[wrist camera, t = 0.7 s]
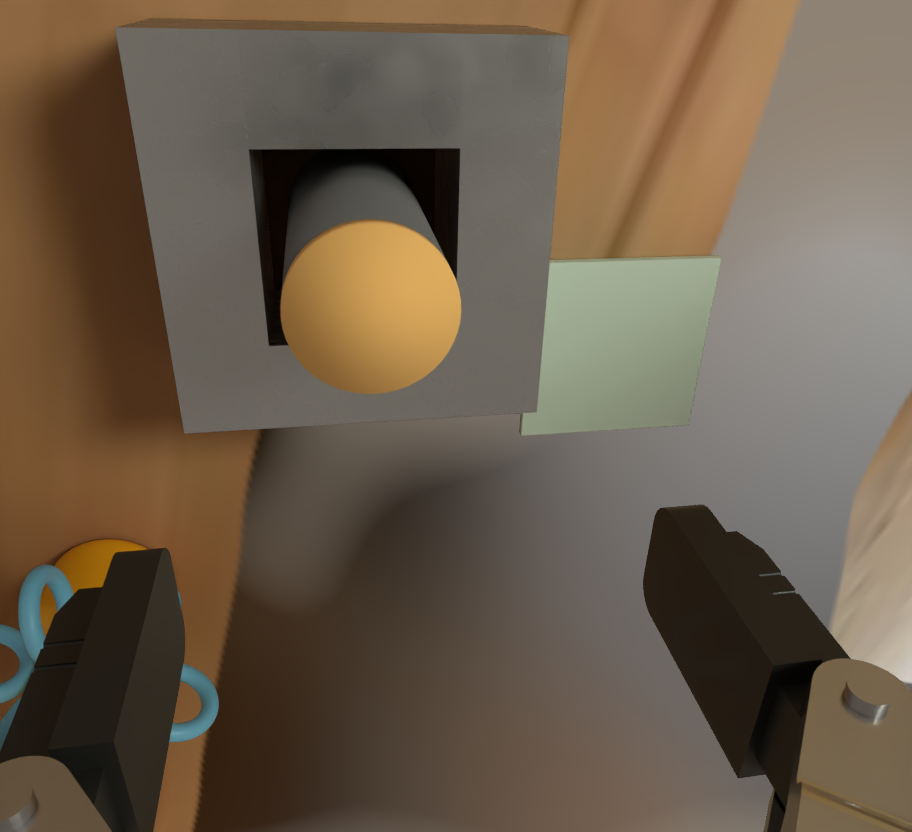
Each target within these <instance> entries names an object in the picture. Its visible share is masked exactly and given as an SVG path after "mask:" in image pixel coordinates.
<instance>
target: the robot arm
mask: <svg viewBox="0 0 912 832" xmlns="http://www.w3.org/2000/svg"><path fill="white" fill-rule="evenodd" d="M643 589H644V597H645V602H646V605H647V608H648V611H649V613H650V616H651V617H652V619H653V621H654V623H655V625H656V627H657V629H658V630H659V632H660V634H661V636H662V638H663V640H664V642H665V643H666V645H667V647H668V649H669V651H670V653H671V654H672V656H673V658H674V660H675V662H676V664H677V665H678V668H679V669H680V671H681V673H682V675H683V677H684V679H685V680H686V682H687V684H688V686H689V688H690V690H691V692H692V694H693V695H694V697H695V699H696V701H697V703H698V704H699V706H700V708H701V710H702V712H703V714H704V715H705V718H706V720H707V721H708V723H709V725H710V727H711V729H712V730H713V733H714V734H715V736H716V738H717V740H718V742H719V744H720V746H721V747H722V749H723V751H724V753H725V755H726V757H727V758H728V760H729V762H730V764H731V766H732V768H733V770H734V772H735V773H736V775H737V777H738V778H743V777H750V776H757V775H764V774H766V775H767V777H768V779H769V781H770V783H771V784H772V786H773V791H772V794H771V797H770V800H769V804H768V810H767V816H766V820H765V826H764V831H763V832H912V691H911V690H910V689H909V688H908V687H907V686H906V685H905V684H904V683H903V682H902V681H901V680H899V679H898V678H897V677H896V676H894V675H892V674H891V673H889V672H888V671H886V670H884V669H882V668H880V667H878V666H875V665H873V664H870V663H867V662H864V661H860V660H854V659H850V657H849V656H848V655H847V654H846V652H845V651H844V650H843V649H842V647H841V646H840V645H839V644H838V642H837V641H836V640H835V639H834V637H833V636H832V635H831V634H830V632H829V631H828V630H827V629H826V627H825V626H824V625H823V624H822V622H821V621H820V620H819V619H818V617H817V616H816V615H815V614H814V612H813V611H812V610H811V609H810V607H809V606H808V605H807V603H806V602H805V601H804V600H803V599H802V597H801V596H800V595H799V594H796V593H795V588H794V587H793V586H792V585H791V583H790V582H789V581H788V580H787V578H786V577H785V576H781V571H780V570H779V568H778V567H777V566H776V565H775V563H774V562H773V561H772V560H771V558H770V557H769V556H768V555H767V553H766V552H765V551H764V550H763V549H762V548H761V547H759V546H758V545H756V544H754V543H753V542H752V541H750V540H749V539H747V538H746V537H744V536H743V535H742V534H740V533H739V532H737V531H736V532H735V531H734V532H726V531H725V529H724V528H723V527H722V525H721V524H720V523H719V521H718V520H717V519H716V517H715V516H714V515H713V514H712V512H711V511H710V510H709V509H708V507H706V506H704V505H691V506H678V507H668V508H667V507H666V508H660V509H659V510H658V511H657V513H656V515H655V519H654V523H653V529H652V534H651V539H650V545H649V550H648V556H647V561H646V566H645V572H644V579H643ZM43 645H44V646H43V649H41V650H40V652H39V655H38V657H37V660H36V662H35V665H34V672H32V673H31V675H30V678H29V680H28V683H27V685H26V688H25V690H24V693H23V695H22V698H21V700H20V703H19V705H18V708H17V710H16V713H15V715H14V718H13V720H12V723H11V725H10V728H9V731H8V733H7V736H6V738H5V741H4V743H3V746H2V748H1V751H0V832H153V829H154V823H155V818H156V812H157V807H158V801H159V796H160V790H161V785H162V779H163V774H164V768H165V763H166V757H167V751H168V746H169V740H170V735H171V729H172V724H173V718H174V713H175V707H176V702H177V696H178V691H179V685H180V679H181V674H182V668H183V663H184V654H185V630H184V621H183V616H182V611H181V606H180V601H179V596H178V591H177V586H176V581H175V576H174V571H173V566H172V561H171V557H170V553H169V551H168V549H167V548H159V549H147V550H135V551H123V552H116V553H115V554H114V555H113V557H112V560H111V563H110V566H109V569H108V572H107V575H106V578H105V581H104V584H103V587H95V588H84V589H78V590H77V591H76V593H75V594H74V595H73V596H72V597H71V598H70V599H69V600H68V601H67V602H66V603H65V604H64V605H63V606H62V607H61V608H60V609H59V610H58V612H57V613H56V614H55V615H54V617H53V620H52V622H51V625H50V627H49V630H48V632H47V635H46V637H45V640H44V642H43Z"/></svg>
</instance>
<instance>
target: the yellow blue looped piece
mask: <svg viewBox="0 0 912 832" xmlns="http://www.w3.org/2000/svg"><path fill="white" fill-rule="evenodd" d="M135 550H147V548H146V547H144V546H142V545H139V544H136V543H133V542H130V541H124V540H120V539H101V540H93V541H90V542H86V543H83V544H80V545H79V546H76V547H74V548H72V549H71V550H69V551H68V552H67V553H65V554H64V555H63V556H62V557H61V558H60V559H59V560H58V561H57V562H56V564H55V565H54V566H53V565H47V564H46V565H40V566H38V567H36V568H34V569H33V570H32V571H31V572H30V573H29V574H28V575H27V577H26V578H25V580H24V582H23V585H22V587H21V591H20V595H19V602H18V621H19V629H20V631H19V630H17V629H15V628H12V627H10V626H6V625H3V624H0V643H1V644H3V645H6V646H7V647H9V648H11V649H12V650H13V651H14V652H15V653H16V654H17V656H18V658H19V661H20V666H19V670H18V672H17V673H16V674H15V675H14V676H13V677H12V678H11V679H9V680H8V681H6V682H4V683H1V684H0V703H3V702H6V701H9V700H11V699H13V698H15V697H17V696H18V695H20V694H21V693H23V692H24V690H25V688H26V685H27V683H28V680H29V678H30V675H31V673H32V672H34V665H35V662H36V660H37V657H38V655H39V652H40V650H41V649H43V646H44V645H43V642H44V640H45V637H46V635H47V632H48V630H49V627H50V625H51V622H52V620H53V617H54V615H55V614H56V613H57V612H58V610H59V609H60V608H61V607H62V606H63V605H64V604H65V603H66V602H67V601H68V600H69V599H70V598H71V597H72V596H73V595H74V594H75V593H76V591H77V590H78V589H84V588H95V587H103V584H104V581H105V578H106V575H107V572H108V569H109V566H110V563H111V560H112V557H113V555H114V554H115V553H116V552H123V551H135ZM44 585H45V587H44ZM43 587H44V589H43ZM42 590H43V591H42ZM178 596H179V601H180V606H181V596H180V593H179V592H178ZM180 681H182V682H185V683H186V684H188V685H190V686H191V687H192V688H193V689H194V690H195V691H196V692H197V693H198V695H199V696H200V699H201V703H202V707H201V711H200V713H199V714H198V716H197V717H195V718H194V719H193V720H191V721H188V722H185V723H173V724H172V729H171V735H170V740H169V742H182V741H187V740H190V739H193V738H195V737H197V736H199V735H201V734H202V733H204V732H205V731H206V730H207V729H208V728H209V727H210V726H211V725H212V723H213V722H214V720H215V718H216V716H217V712H218V707H219V700H218V695H217V692H216V689H215V687H214V685H213V684H212V682H211V681H210V680H209V679H208V678H207V677H206V676H205V675H204V674H203V673H202V672H200V671H199V670H197V669H196V668H194V667H191V666H189V665H186V664H183V668H182V674H181V679H180ZM21 698H22V696H21V697H20V698H19V699H18V700H17V701H16V702H15V703H14V705H13V706H12V707H11V708H10V709H9V711H8V712H7V713H6V715H5V716H4V717H3V719H2V720H1V722H0V751H1V748H2V746H3V743H4V741H5V738H6V736H7V733H8V731H9V728H10V725H11V723H12V720H13V718H14V715H15V713H16V710H17V708H18V705H19V703H20V700H21Z"/></svg>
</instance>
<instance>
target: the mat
mask: <svg viewBox="0 0 912 832" xmlns="http://www.w3.org/2000/svg"><path fill="white" fill-rule="evenodd" d="M720 263H721V257H719V256H718V255H713V256H678V257H642V258H607V259H572V260H550V266H549V278H548V289H547V301H546V312H545V324H544V335H543V347H542V359H541V370H540V382H539V393H538V405H537V412H536V413H521V417H520V431H519V432H520V434H521V436H526V435H541V434H556V433H572V432H587V431H588V432H589V431H604V430H619V429H635V428H650V427H666V426H682V425H689V420H690V414H691V409H692V404H693V399H694V395H695V390H696V384H697V379H698V374H699V369H700V364H701V359H702V354H703V349H704V343H705V339H706V334H707V328H708V324H709V319H710V314H711V309H712V303H713V298H714V293H715V288H716V283H717V278H718V273H719V268H720Z"/></svg>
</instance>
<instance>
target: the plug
mask: <svg viewBox="0 0 912 832" xmlns="http://www.w3.org/2000/svg"><path fill="white" fill-rule="evenodd" d="M280 309H281V323H282V329H283V332H284V335H285V338H286V341H287V343H288V345H289V347H290V349H291V351H292V352H293V354H294V355H295V357H296V359H297V360H298V361H299V362H300V363H301V364H302V366H303V367H304V368H305V369H307V370H308V371H309V372H310V373H311V374H312V375H314V376H315V377H316V378H318V379H319V380H321V381H323V382H324V383H326V384H328V385H330V386H333V387H335V388H338V389H341V390H344V391H348V392H352V393H360V394H379V393H387V392H391V391H396V390H399V389H402V388H404V387H407V386H409V385H411V384H413V383H415V382H417V381H419V380H420V379H422V378H424V377H425V376H427V375H428V374H429V373H430V372H431V371H433V370H434V369H435V368H436V367H437V366H438V365H439V364H440V362H441V361H442V360H443V359H444V358H445V356H446V355H447V353H448V352H449V350H450V348H451V347H452V345H453V343H454V341H455V338H456V335H457V333H458V329H459V325H460V319H461V298H460V292H459V288H458V285H457V282H456V279H455V277H454V274H453V272H452V270H451V268H450V266H449V264H448V262H447V260H446V258H445V256H444V254H443V252H442V250H441V248H440V246H439V244H438V242H437V240H436V238H435V236H434V234H433V232H432V230H431V228H430V226H429V224H428V222H427V219H426V217H425V215H424V213H423V211H422V209H421V207H420V205H419V203H418V201H417V199H416V197H415V195H414V193H413V191H412V189H411V187H410V185H409V183H408V181H407V179H406V177H405V175H404V174H403V172H402V171H401V169H400V168H399V167H398V166H397V164H396V163H395V162H394V161H392V160H391V159H390V158H389V157H388V156H386V155H385V154H383V153H382V152H380V151H378V150H376V149H324V150H322V151H320V152H319V153H317V154H316V155H314V156H313V157H311V158H310V159H309V160H308V161H307V162H306V163H305V164H304V165H303V167H302V168H301V169H300V171H299V172H298V174H297V176H296V177H295V180H294V182H293V185H292V188H291V192H290V199H289V211H288V222H287V234H286V246H285V258H284V270H283V282H282V294H281V306H280Z"/></svg>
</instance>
